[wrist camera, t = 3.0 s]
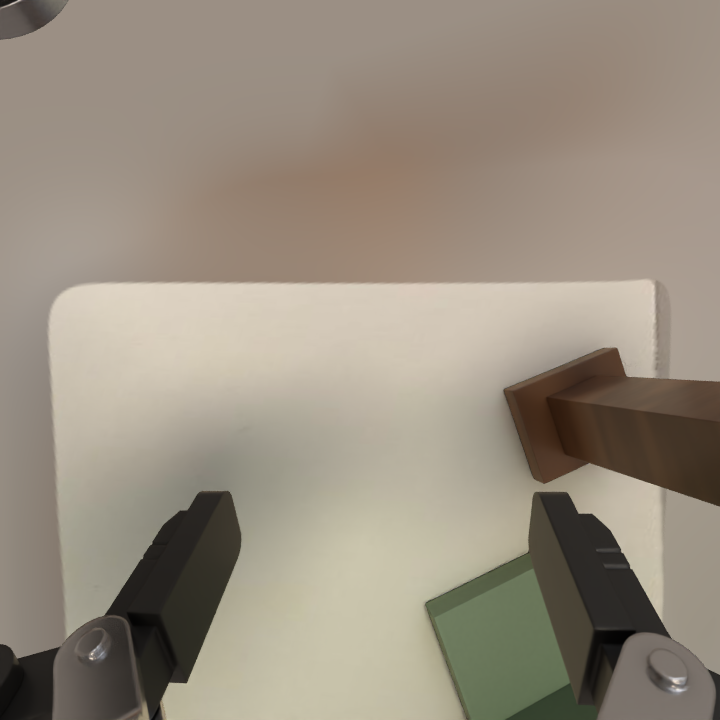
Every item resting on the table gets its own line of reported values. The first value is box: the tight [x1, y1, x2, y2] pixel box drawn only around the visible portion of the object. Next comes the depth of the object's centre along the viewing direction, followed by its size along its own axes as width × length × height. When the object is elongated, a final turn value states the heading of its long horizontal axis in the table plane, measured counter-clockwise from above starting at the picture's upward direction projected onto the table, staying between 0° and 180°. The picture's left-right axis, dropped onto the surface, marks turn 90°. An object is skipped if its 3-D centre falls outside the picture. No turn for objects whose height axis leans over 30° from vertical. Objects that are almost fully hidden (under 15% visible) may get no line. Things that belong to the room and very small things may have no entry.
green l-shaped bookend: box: [426, 552, 598, 720], centre depth 34 cm, size 16×12×6 cm
